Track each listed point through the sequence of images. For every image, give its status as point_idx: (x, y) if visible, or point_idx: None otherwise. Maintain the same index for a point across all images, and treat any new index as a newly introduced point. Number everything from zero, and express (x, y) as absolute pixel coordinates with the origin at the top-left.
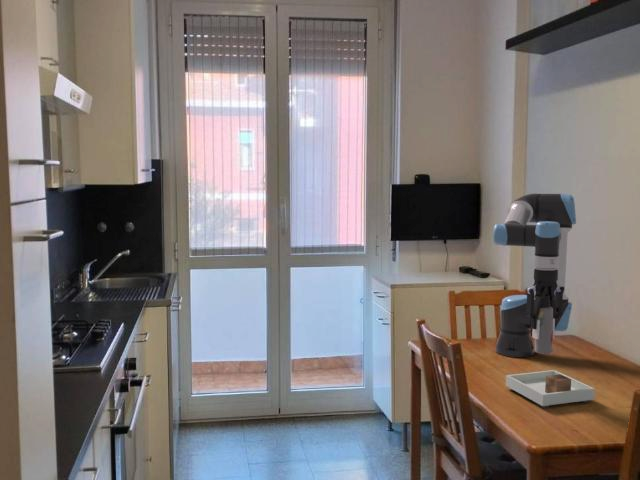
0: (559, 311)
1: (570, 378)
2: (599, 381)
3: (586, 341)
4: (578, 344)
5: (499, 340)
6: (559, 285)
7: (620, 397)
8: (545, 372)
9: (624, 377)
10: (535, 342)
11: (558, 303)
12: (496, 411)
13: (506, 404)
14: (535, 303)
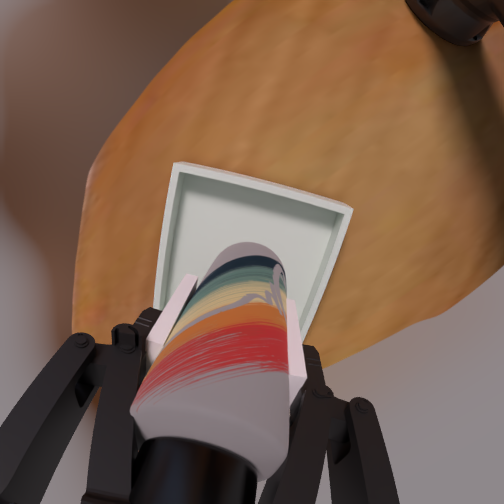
0: (328, 454)
1: (319, 285)
2: (434, 256)
3: None
4: None
5: None
6: None
7: (369, 338)
8: (314, 204)
9: (481, 268)
10: (205, 274)
11: (339, 500)
12: (83, 257)
13: (118, 241)
14: (96, 455)
